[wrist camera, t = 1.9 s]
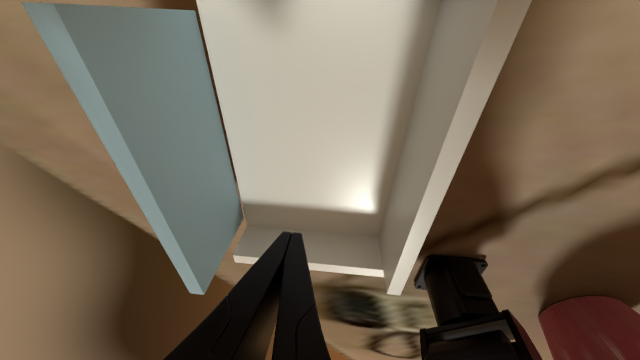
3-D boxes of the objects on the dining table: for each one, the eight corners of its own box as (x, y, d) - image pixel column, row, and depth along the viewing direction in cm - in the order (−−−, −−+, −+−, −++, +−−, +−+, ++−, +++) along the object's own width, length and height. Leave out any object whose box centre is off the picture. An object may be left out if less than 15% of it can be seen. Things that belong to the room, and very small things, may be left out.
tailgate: (243, 217, 22) (204, 294, 16) (227, 216, 22) (182, 292, 16) (194, 10, 13) (53, 3, 6) (167, 9, 13) (2, 1, 7)
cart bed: (383, 225, 24) (397, 301, 18) (256, 214, 25) (225, 283, 19) (451, -26, 13) (564, -72, 6) (211, -31, 13) (84, -76, 7)
